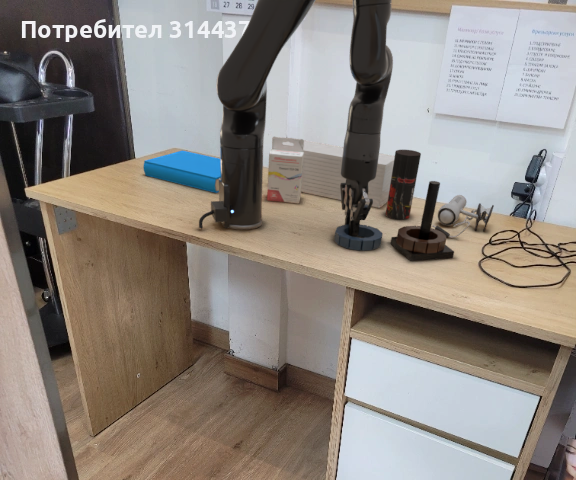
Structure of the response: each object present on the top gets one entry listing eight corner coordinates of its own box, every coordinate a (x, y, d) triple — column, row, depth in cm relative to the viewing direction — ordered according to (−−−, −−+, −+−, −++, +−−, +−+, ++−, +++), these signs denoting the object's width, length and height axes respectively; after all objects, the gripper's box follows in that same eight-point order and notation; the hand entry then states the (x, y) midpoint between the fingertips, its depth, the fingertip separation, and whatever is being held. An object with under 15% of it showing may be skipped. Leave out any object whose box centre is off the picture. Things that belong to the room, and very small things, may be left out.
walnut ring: (409, 254, 114) (411, 244, 113) (388, 236, 122) (389, 227, 121) (452, 251, 117) (455, 241, 116) (429, 234, 125) (431, 224, 123)
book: (181, 150, 165) (251, 163, 155) (182, 165, 167) (251, 179, 158) (141, 161, 153) (215, 176, 143) (143, 177, 155) (215, 193, 145)
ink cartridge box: (266, 201, 143) (268, 140, 134) (269, 195, 147) (271, 135, 138) (299, 203, 142) (303, 142, 134) (301, 198, 146) (305, 138, 138)
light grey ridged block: (392, 198, 150) (399, 156, 144) (379, 208, 143) (385, 164, 136) (288, 177, 162) (290, 137, 155) (271, 185, 154) (272, 144, 147)
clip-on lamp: (466, 256, 127) (494, 219, 137) (474, 232, 122) (502, 196, 132) (419, 239, 131) (449, 205, 141) (425, 215, 126) (455, 181, 136)
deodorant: (409, 220, 136) (420, 156, 127) (384, 218, 137) (394, 154, 128) (409, 213, 141) (421, 151, 132) (386, 210, 141) (396, 148, 133)
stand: (410, 261, 115) (424, 190, 107) (390, 243, 123) (401, 176, 114) (452, 258, 118) (469, 189, 109) (430, 240, 125) (444, 174, 117)
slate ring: (344, 251, 117) (346, 242, 116) (328, 234, 125) (329, 225, 124) (388, 249, 120) (390, 239, 119) (369, 232, 128) (370, 222, 127)
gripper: (332, 146, 120) (325, 224, 130) (356, 162, 109) (346, 246, 119) (364, 145, 122) (354, 223, 132) (391, 162, 111) (378, 244, 121)
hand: (351, 233), depth 126 cm, fingers closed on slate ring, 2 cm apart
